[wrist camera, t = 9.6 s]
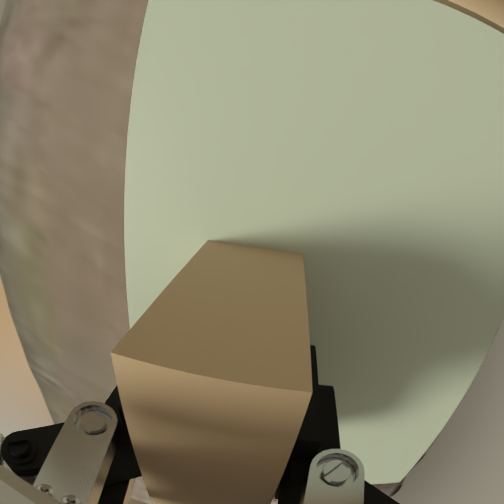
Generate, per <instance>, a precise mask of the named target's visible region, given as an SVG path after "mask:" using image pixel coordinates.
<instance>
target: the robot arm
mask: <svg viewBox="0 0 504 504" xmlns="http://www.w3.org/2000/svg"><path fill="white" fill-rule="evenodd" d="M310 352H311V370H312V391H313V393H312V396H311V399H310V402H309V405H308V408H307V411H306V414H305V416H304V419H303V422H302V425H301V428H300V431H299V433H298V436H297V439H296V442H295V444H294V447H293V450H292V452H291V455H290V457H289V460H288V463H287V465H286V468H285V470H284V473H283V475H282V478H281V480H280V482H279V485H278V487H277V490H276V492H275V499H278V504H399V503H397V502H396V501H395V500H393V499H392V498H390V497H389V496H387V495H386V494H384V493H383V492H381V491H380V490H378V489H377V488H375V487H374V486H373V485H371V484H370V483H368V482H367V481H366V480H364V478H365V471H364V465H363V464H362V462H361V460H360V459H359V458H358V457H357V456H356V455H355V454H353V453H351V452H349V451H346V450H342V449H341V447H340V437H339V427H338V418H337V409H336V400H335V392H334V387H333V386H329V385H319V383H318V370H317V357H316V347H315V345H310ZM140 476H142V474H141V471H140V468H139V465H138V462H137V459H136V456H135V452H134V449H133V446H132V442H131V439H130V435H129V432H128V428H127V424H126V420H125V416H124V413H123V408H122V404H121V400H120V396H119V391H118V387H117V386H116V388H115V389H114V390H113V392H112V393H111V395H110V396H109V398H108V399H107V401H106V402H105V404H104V403H101V402H95V401H91V402H85V403H82V404H79V405H78V406H76V407H75V408H74V409H73V410H72V411H71V412H70V414H69V416H68V418H67V420H66V421H65V422H64V423H60V424H55V425H50V426H45V427H39V428H34V429H29V430H22V431H17V432H14V433H11V434H10V435H8V436H7V437H4V436H3V435H2V434H0V504H129V501H130V497H131V493H132V490H133V486H134V483H135V478H136V477H140Z"/></svg>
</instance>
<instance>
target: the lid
mask: <svg viewBox="0 0 504 504" xmlns="http://www.w3.org/2000/svg"><path fill="white" fill-rule="evenodd" d="M124 235H125V268H126V287H127V301H128V313H129V324H130V330H129V331H128V332H127V334H126V335H125V336H124V337H123V338H122V340H121V341H120V342H119V343H118V344H117V346H116V347H115V348H114V349H113V351H112V352H111V356H112V362H113V367H114V372H115V377H116V382H117V387H118V391H119V396H120V400H121V404H122V408H123V413H124V416H125V420H126V424H127V428H128V432H129V435H130V439H131V442H132V446H133V449H134V452H135V456H136V459H137V462H138V465H139V468H140V471H141V474H142V477H143V480H144V483H145V485H146V488H147V491H148V494H149V496H150V499H151V502H152V504H270V503H271V501H272V499H273V497H274V494H275V492H276V490H277V487H278V485H279V482H280V480H281V478H282V475H283V473H284V470H285V468H286V465H287V463H288V460H289V457H290V455H291V452H292V450H293V447H294V444H295V442H296V439H297V436H298V433H299V431H300V428H301V425H302V422H303V419H304V416H305V414H306V411H307V408H308V405H309V402H310V399H311V396H312V393H313V391H312V370H311V352H310V345H315V347H316V357H317V370H318V383H319V385H329V386H333V387H334V392H335V400H336V409H337V418H338V427H339V437H340V447H341V449H342V450H346V451H349V452H351V453H353V454H355V455H356V456H357V457H358V458H359V459H360V460H361V462H362V464H363V465H364V471H365V478H364V480H366V481H367V482H368V483H370V484H385V483H396V482H400V481H401V480H402V479H403V478H404V477H405V476H406V475H407V473H408V472H409V471H410V470H411V469H412V468H413V466H414V465H415V464H416V463H417V461H418V460H419V459H420V458H421V456H422V455H423V454H424V453H425V451H426V450H427V449H428V448H429V446H430V445H431V444H432V442H433V441H434V440H435V438H436V437H437V435H438V434H439V433H440V431H441V430H442V428H443V427H444V426H445V424H446V423H447V421H448V420H449V418H450V417H451V415H452V414H453V412H454V411H455V409H456V407H457V406H458V404H459V403H460V401H461V399H462V398H463V396H464V394H465V393H466V391H467V390H468V388H469V386H470V384H471V383H472V381H473V379H474V377H475V375H476V373H477V372H478V370H479V368H480V366H481V364H482V362H483V360H484V358H485V357H486V354H487V352H488V350H489V348H490V346H491V344H492V342H493V340H494V338H495V336H496V333H497V331H498V329H499V327H500V324H501V322H502V320H503V317H504V34H503V33H501V32H500V31H498V30H496V29H494V28H492V27H490V26H489V25H487V24H485V23H483V22H481V21H479V20H477V19H475V18H473V17H471V16H469V15H467V14H464V13H462V12H460V11H458V10H456V9H453V8H451V7H449V6H446V5H444V4H441V3H439V2H436V1H434V0H149V2H148V6H147V11H146V15H145V20H144V24H143V29H142V34H141V39H140V45H139V50H138V56H137V62H136V69H135V75H134V83H133V90H132V98H131V107H130V116H129V127H128V139H127V153H126V171H125V204H124Z"/></svg>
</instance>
